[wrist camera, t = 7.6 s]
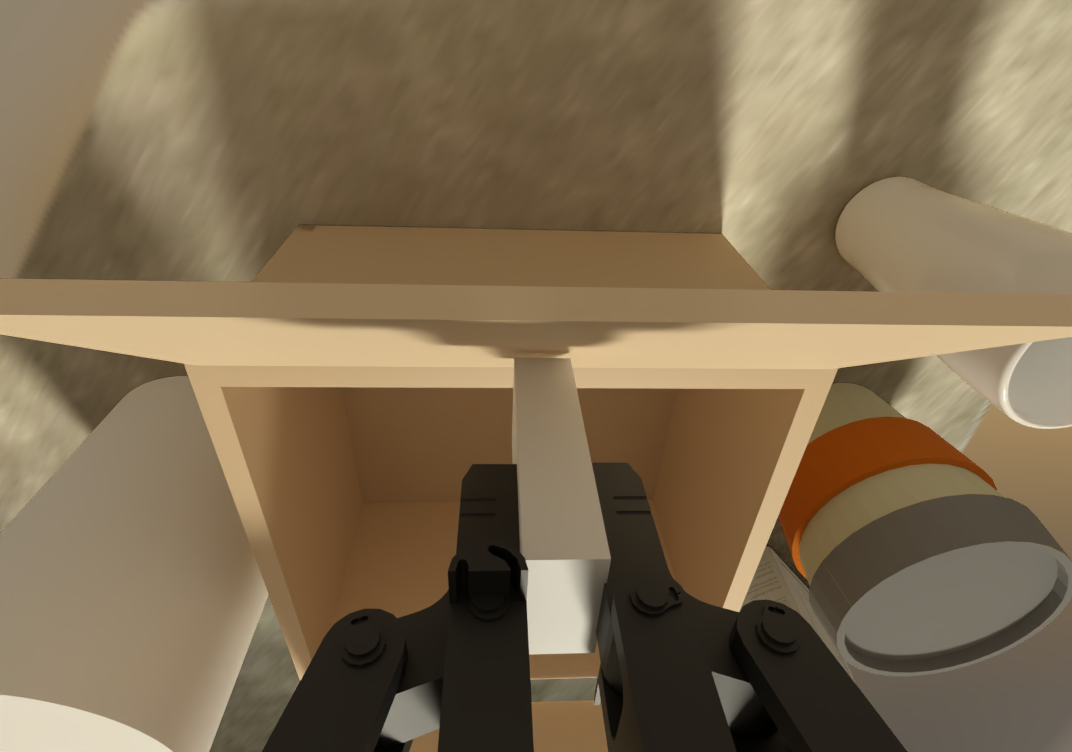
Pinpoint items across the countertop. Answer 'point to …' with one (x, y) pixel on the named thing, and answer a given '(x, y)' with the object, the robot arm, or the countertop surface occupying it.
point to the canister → (127, 589)
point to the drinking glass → (969, 281)
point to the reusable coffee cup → (914, 545)
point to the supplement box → (787, 595)
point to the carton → (491, 430)
